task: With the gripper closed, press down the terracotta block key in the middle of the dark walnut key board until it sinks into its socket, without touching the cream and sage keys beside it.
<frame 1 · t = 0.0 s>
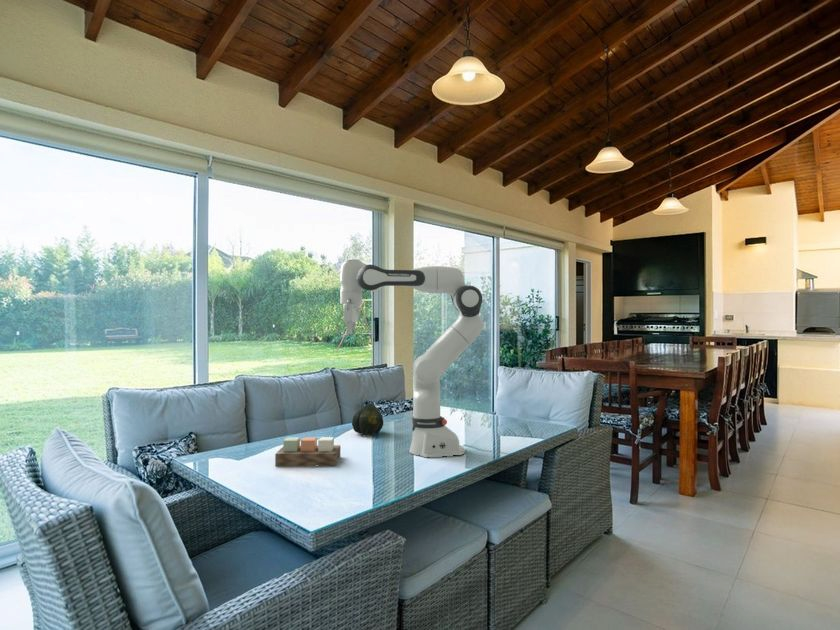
hand: (351, 333, 200), 48 cm above the table, tool pointing down, fingers open, 8 cm apart
squash: (367, 434, 231), on the table
cream key: (326, 445, 186), point 6 cm above the table, slide at 0.0 cm
sage key: (291, 445, 186), point 6 cm above the table, slide at 0.0 cm
key board: (308, 461, 186), on the table
terracotta key: (308, 445, 186), point 6 cm above the table, slide at 0.0 cm
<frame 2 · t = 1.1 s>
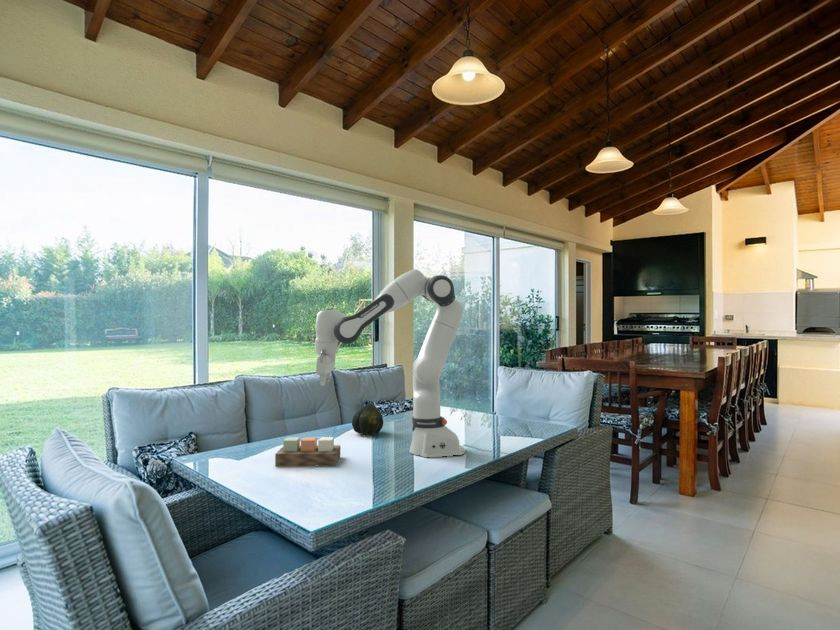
hand: (325, 384, 195), 28 cm above the table, tool pointing down, fingers open, 8 cm apart
nothing on the table moved.
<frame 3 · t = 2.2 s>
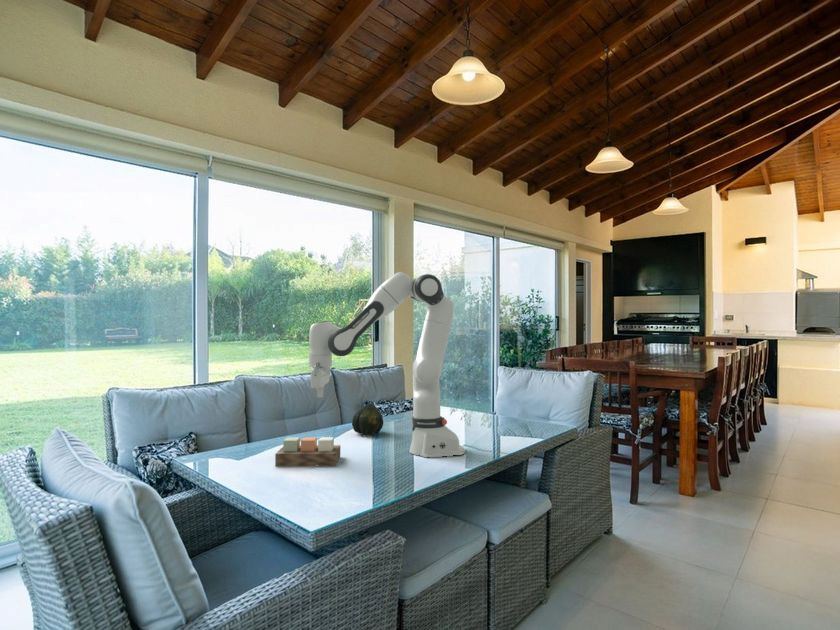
hand: (320, 397, 194), 23 cm above the table, tool pointing down, fingers closed
nothing on the table moved.
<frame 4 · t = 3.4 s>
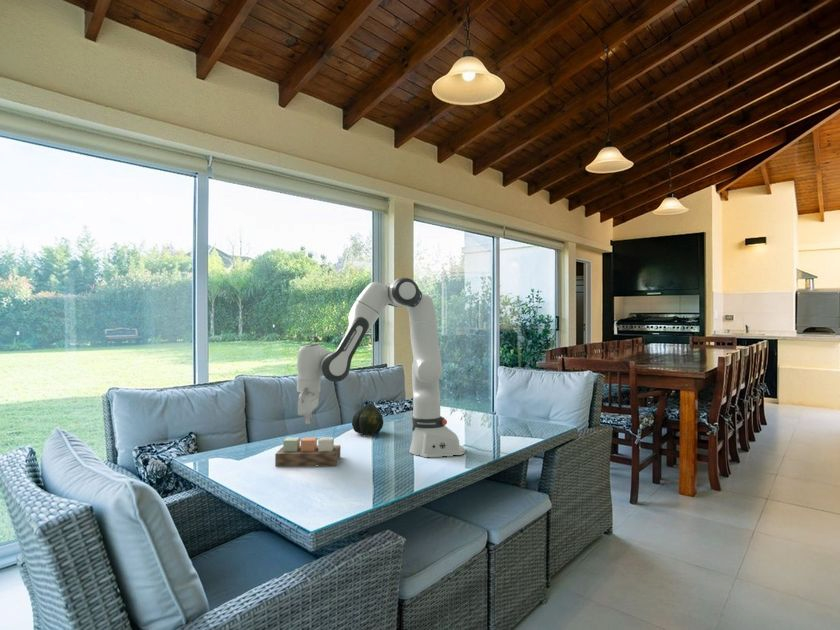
hand: (308, 423, 186), 14 cm above the table, tool pointing down, fingers closed
nothing on the table moved.
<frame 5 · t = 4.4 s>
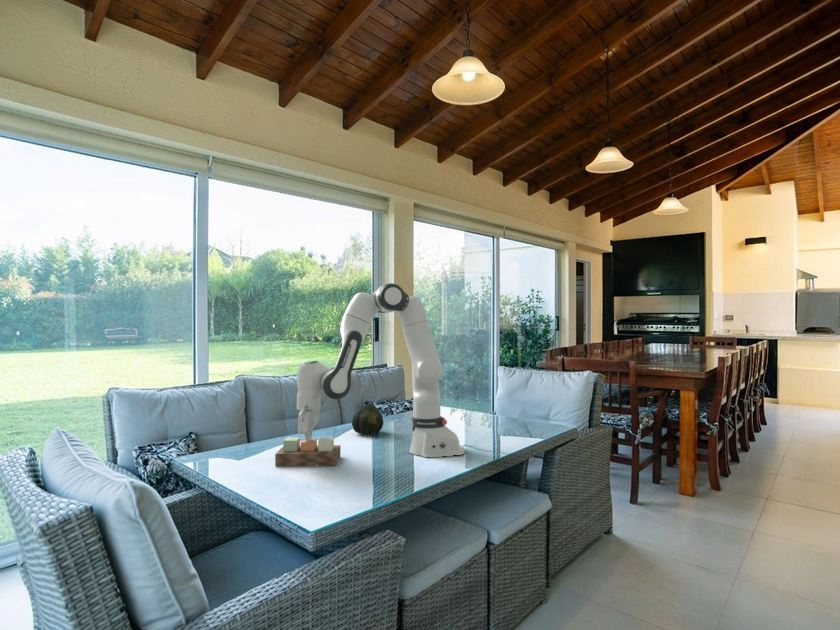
hand: (308, 440, 186), 8 cm above the table, tool pointing down, fingers closed, pressing on terracotta key
terracotta key: (308, 447, 186), point 5 cm above the table, slide at 0.7 cm, touching gripper
everything else where it was.
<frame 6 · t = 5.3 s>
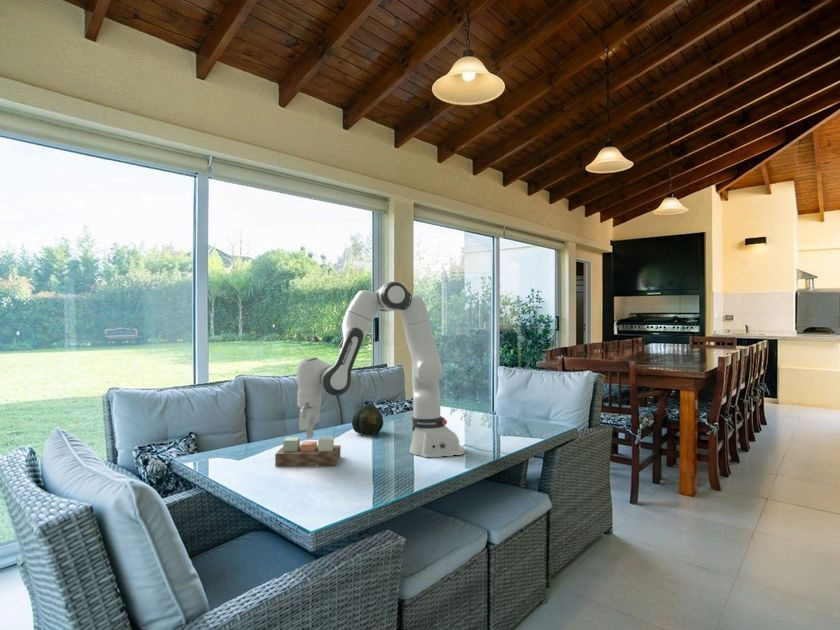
hand: (310, 437, 186), 9 cm above the table, tool pointing down, fingers closed
terracotta key: (308, 449, 186), point 4 cm above the table, slide at 1.6 cm
everything else where it was.
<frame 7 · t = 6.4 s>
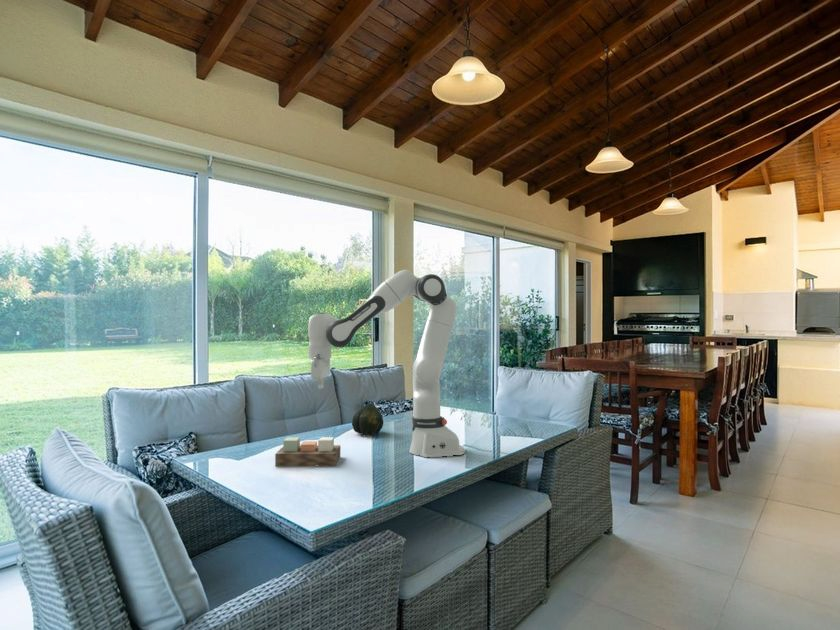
hand: (320, 388, 195), 26 cm above the table, tool pointing down, fingers closed
nothing on the table moved.
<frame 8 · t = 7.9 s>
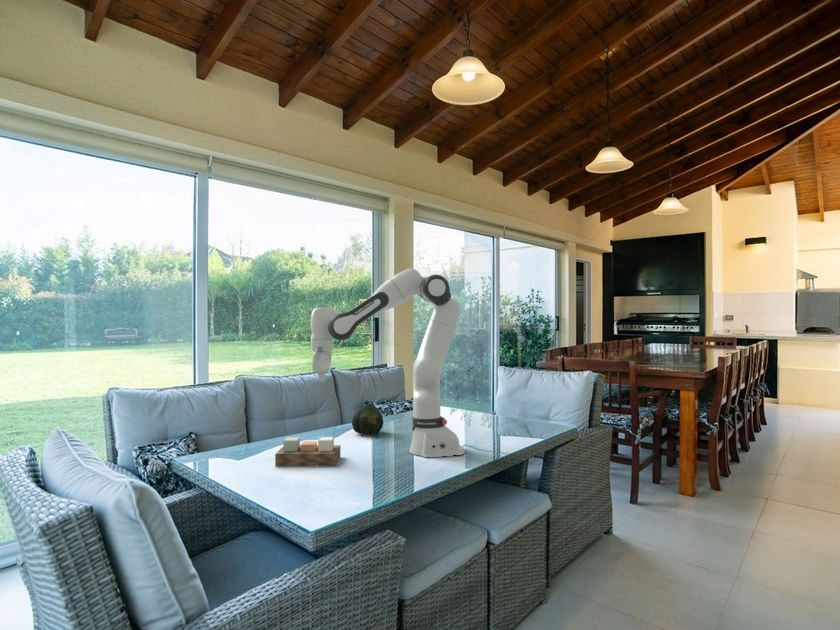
hand: (321, 381, 196), 29 cm above the table, tool pointing down, fingers closed
nothing on the table moved.
at the end: terracotta key slide at 1.6 cm; cream key slide at 0.0 cm; sage key slide at 0.0 cm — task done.
